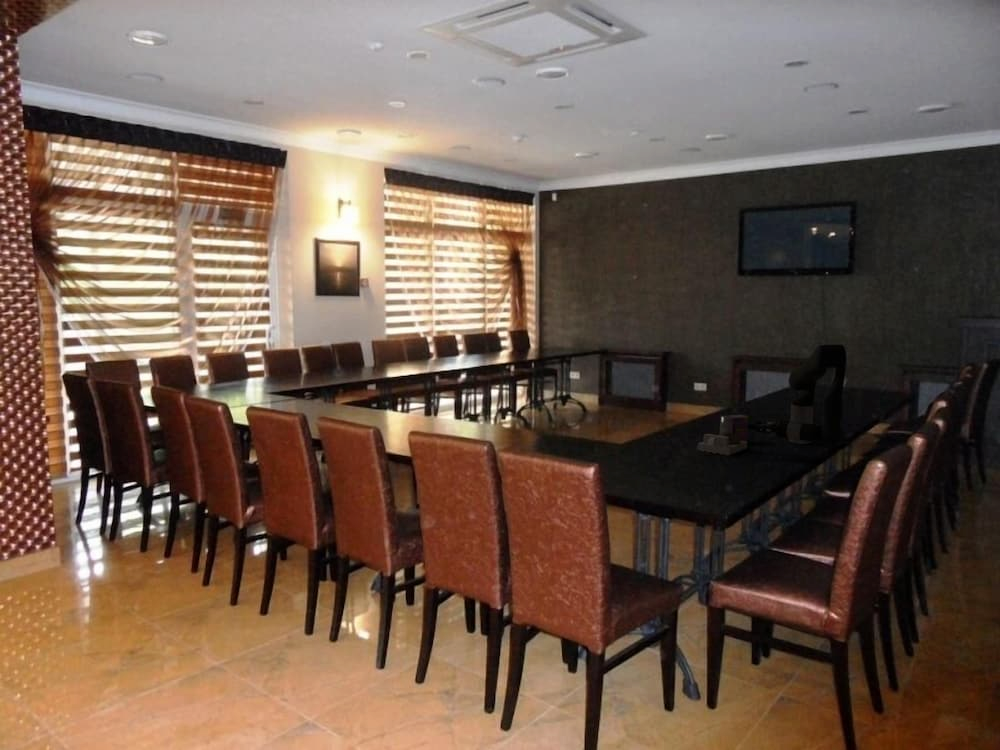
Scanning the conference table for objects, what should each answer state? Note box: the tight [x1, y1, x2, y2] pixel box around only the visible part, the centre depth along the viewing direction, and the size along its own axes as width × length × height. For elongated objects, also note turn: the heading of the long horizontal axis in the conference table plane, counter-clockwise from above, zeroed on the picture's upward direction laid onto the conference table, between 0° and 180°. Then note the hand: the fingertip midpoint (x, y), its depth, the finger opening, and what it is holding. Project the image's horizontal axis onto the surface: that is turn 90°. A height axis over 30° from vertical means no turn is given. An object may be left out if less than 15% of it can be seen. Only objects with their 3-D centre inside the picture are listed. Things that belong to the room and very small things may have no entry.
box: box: [729, 414, 749, 443], centre depth 328 cm, size 10×6×12 cm, turn 112°
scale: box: [697, 433, 748, 456], centre depth 311 cm, size 19×14×7 cm
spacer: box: [719, 415, 733, 441], centre depth 312 cm, size 5×5×10 cm
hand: (751, 424), depth 305 cm, fingers open, 8 cm apart
